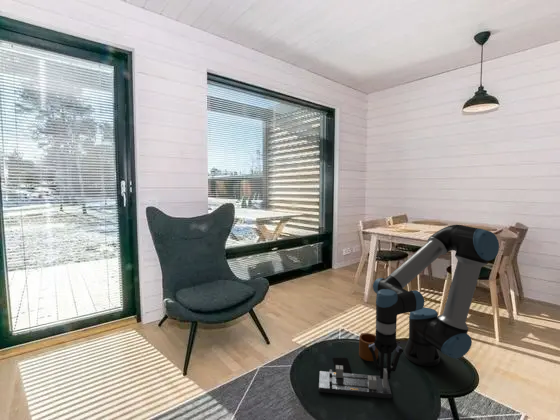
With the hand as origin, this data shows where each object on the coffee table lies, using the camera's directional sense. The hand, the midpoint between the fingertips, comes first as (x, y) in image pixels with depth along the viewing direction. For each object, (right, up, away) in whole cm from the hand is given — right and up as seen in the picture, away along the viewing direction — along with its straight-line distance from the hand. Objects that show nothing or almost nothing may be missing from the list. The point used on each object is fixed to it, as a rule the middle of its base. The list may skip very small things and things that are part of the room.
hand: (384, 385), depth 121 cm
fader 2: (-5, -1, +1) cm, 5 cm away
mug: (+1, 0, +27) cm, 26 cm away
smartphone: (-13, -2, +16) cm, 21 cm away
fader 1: (-16, -1, +8) cm, 18 cm away
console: (-11, -3, +5) cm, 13 cm away
